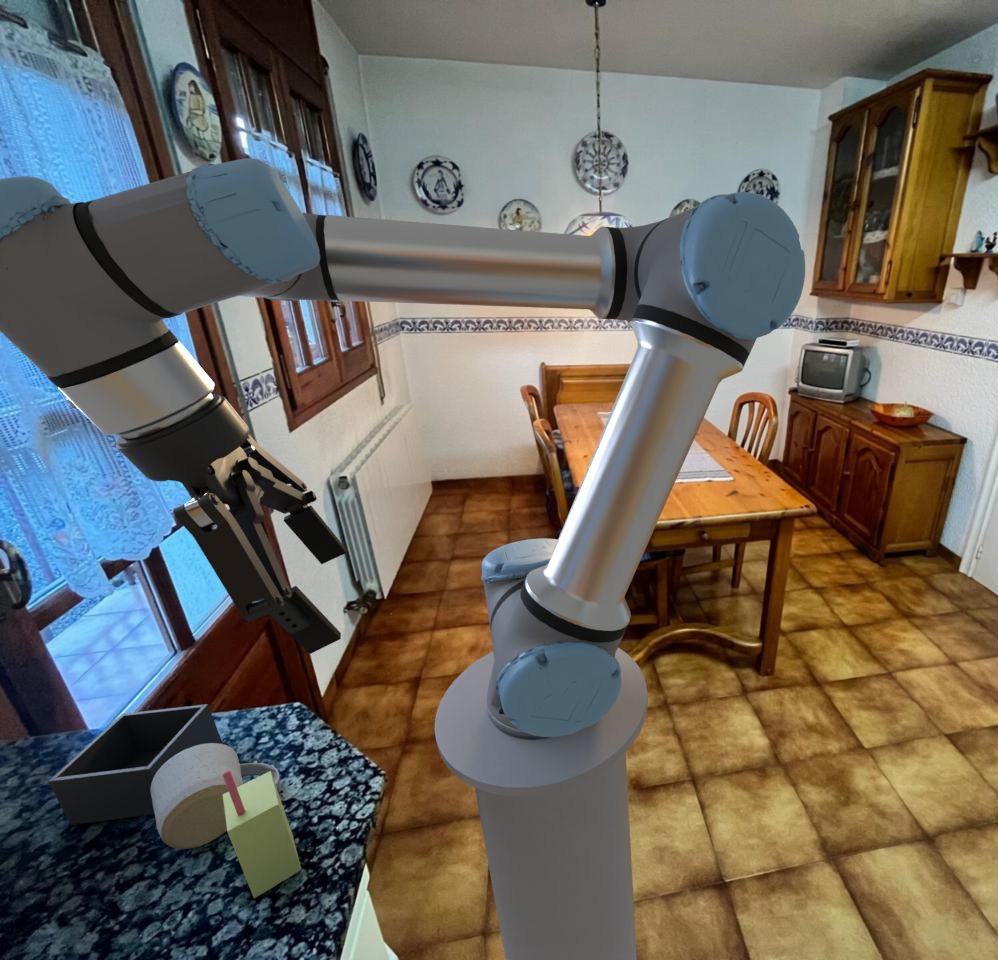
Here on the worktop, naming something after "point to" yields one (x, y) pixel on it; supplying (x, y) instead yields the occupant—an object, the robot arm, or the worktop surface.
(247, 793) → the juice box
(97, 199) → the robot arm
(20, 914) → the worktop surface
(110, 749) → the bin
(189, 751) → the ceramic mug
